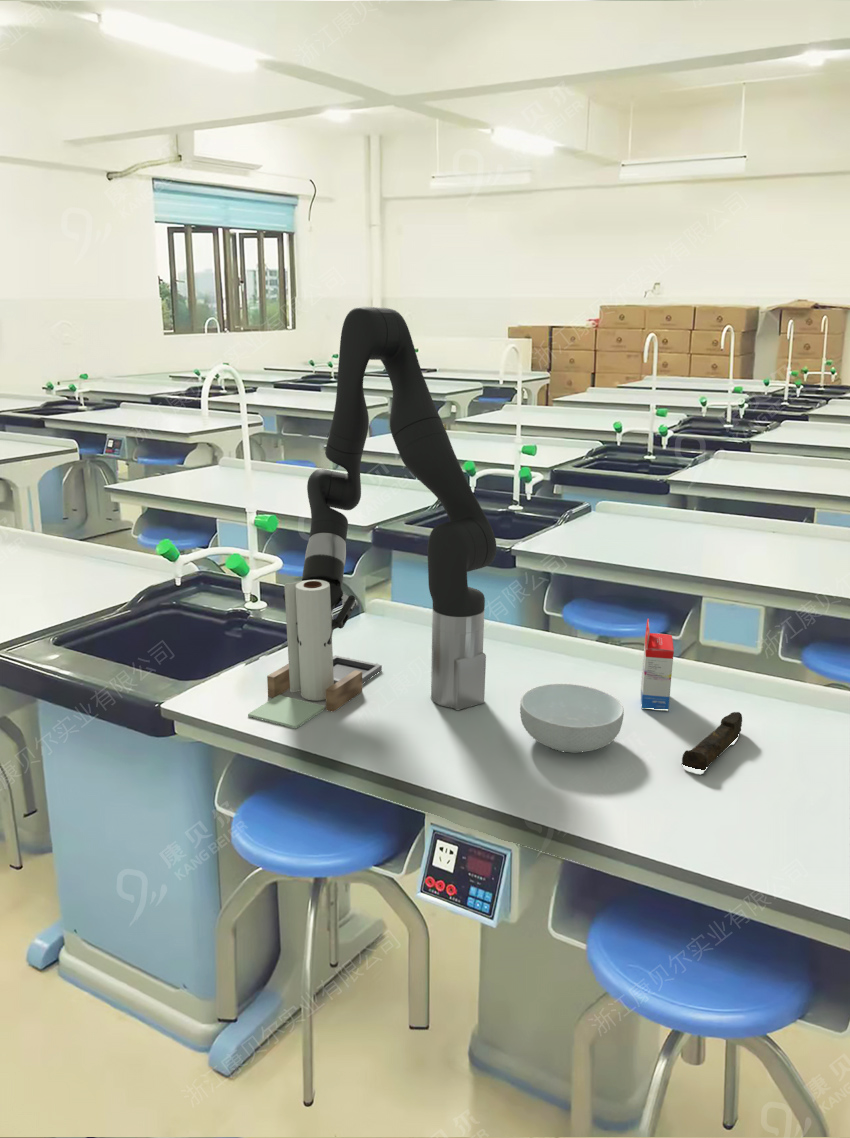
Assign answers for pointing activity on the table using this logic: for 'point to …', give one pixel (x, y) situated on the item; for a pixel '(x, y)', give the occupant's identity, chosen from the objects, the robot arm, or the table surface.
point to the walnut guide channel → (334, 694)
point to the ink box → (656, 670)
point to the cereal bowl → (571, 717)
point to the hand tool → (714, 743)
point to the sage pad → (286, 711)
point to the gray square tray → (353, 668)
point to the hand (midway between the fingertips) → (313, 646)
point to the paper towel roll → (309, 637)
